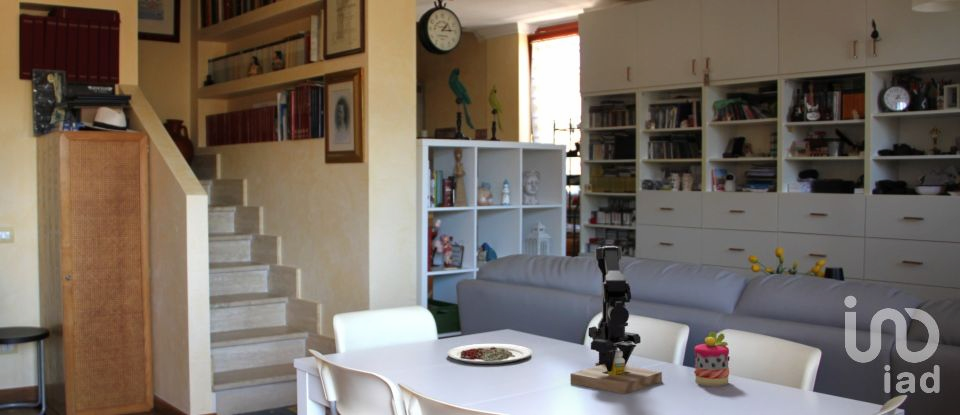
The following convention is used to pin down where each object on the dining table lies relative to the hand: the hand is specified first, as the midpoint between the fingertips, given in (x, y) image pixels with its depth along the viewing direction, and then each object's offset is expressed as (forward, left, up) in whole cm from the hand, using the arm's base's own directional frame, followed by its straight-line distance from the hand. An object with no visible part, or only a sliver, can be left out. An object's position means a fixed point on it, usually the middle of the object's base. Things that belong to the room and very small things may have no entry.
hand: (616, 369), depth 269 cm
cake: (-19, +22, -4) cm, 29 cm away
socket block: (0, 0, -4) cm, 4 cm away
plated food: (-2, -56, -4) cm, 56 cm away
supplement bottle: (0, 0, -4) cm, 4 cm away
